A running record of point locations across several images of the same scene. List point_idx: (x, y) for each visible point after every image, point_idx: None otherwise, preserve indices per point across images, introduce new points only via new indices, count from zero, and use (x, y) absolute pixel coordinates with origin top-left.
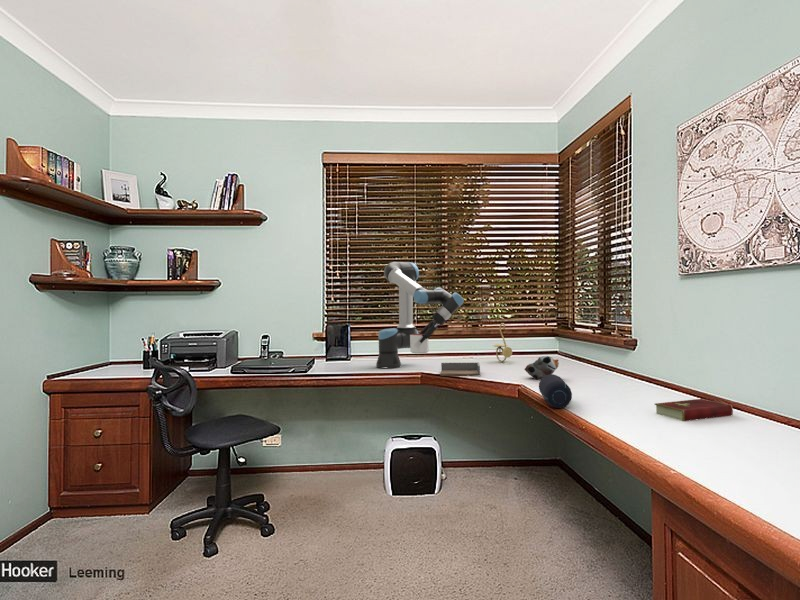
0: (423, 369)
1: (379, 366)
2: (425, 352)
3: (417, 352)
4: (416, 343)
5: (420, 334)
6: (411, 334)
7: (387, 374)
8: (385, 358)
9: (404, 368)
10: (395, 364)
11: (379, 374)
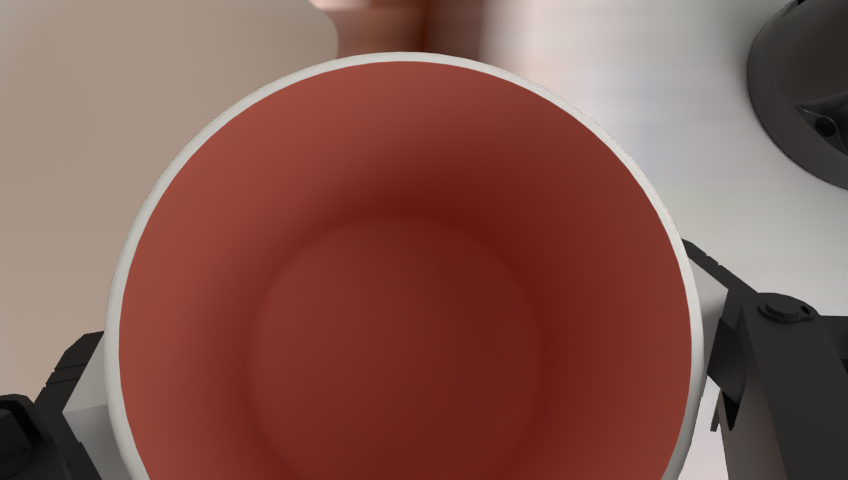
0: (711, 414)
1: (772, 18)
2: (293, 460)
3: (256, 319)
4: None
5: (683, 354)
6: (525, 87)
7: None
8: (829, 14)
9: (768, 227)
10: (805, 134)
11: (417, 31)
